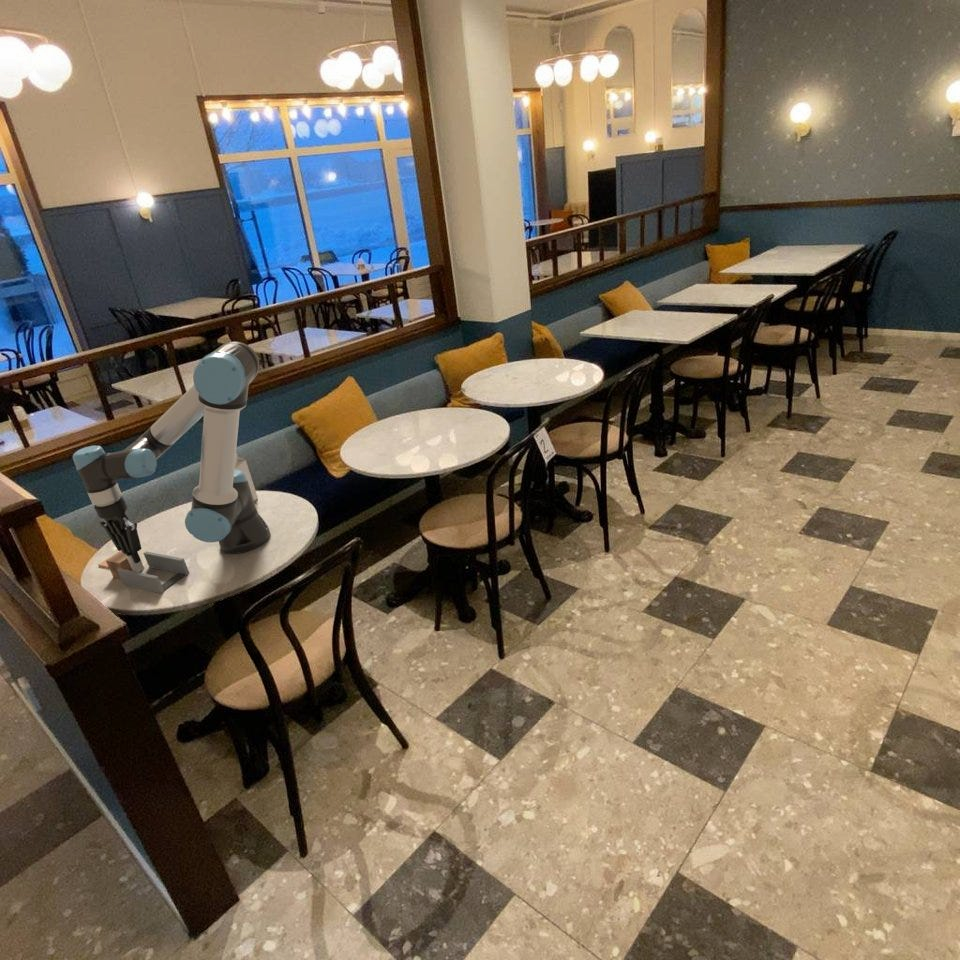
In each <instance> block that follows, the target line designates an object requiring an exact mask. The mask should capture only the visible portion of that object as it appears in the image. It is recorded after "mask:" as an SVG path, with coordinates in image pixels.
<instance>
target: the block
mask: <svg viewBox="0 0 960 960" xmlns="http://www.w3.org/2000/svg"><path fill="white" fill-rule="evenodd" d="M118 552H119V551H118ZM118 552H116V553H117V554H116V553H114V554H115V555H114V554H113V555H114V556H113V555H111V556H112V557H111V556H110V557H111V558H110V557H108V558H109V559H108V558H107V560H106V559H105V560H106V562H107V564H108V567H109V568H108V569H109V571H110V573H111V576H112V578H114V579H115V578H116V579H119V578H120V576H119V574H118V571H117V570H118V569H120V568H121V569H126V570H131V571H132V569H131V566H130V564H129V562H128V560H127V557H126V555H125V554H124V553H123V552H122V551H120V552H119V553H118ZM120 580H121V578H120Z"/></svg>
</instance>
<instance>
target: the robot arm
mask: <svg viewBox="0 0 960 960" xmlns="http://www.w3.org/2000/svg"><path fill="white" fill-rule="evenodd" d="M194 368H195V369H194V370H193V375H192V376H193V377H192V380H193V381H192V383H193V385H192V386H191V387H190V388H189V389H188V390H187V391H186V392H185V393H184V394H183V395H182V396H181V397H179V399H178V400H176V401H175V403H173V404H172V405H171V406H170V407H169V408H168V409H167V410H166V411H165V412H164V413H163V414H162V415H161V416H160V417H158V419H157V420H156V421H155V422H154V423H153V424H152V425H151V426H150V427H149V428H148V429H147V430H146V431H144V433H143V434H141V435H140V436H139V437H138V438H137V439H136V440H134V441H133V442H132V443H131V444H130V445H128V446H126V448H124V449H123V450H121V451H114V452H105V450H104V448H103V447H102V446H101V445H90V446H85V447H83V448H80V449H78V450H77V451H75V452H74V453H73V454H72V461H73V463H74V465H75V470H76V471H77V473H78V475H79V477H80V479H81V482H82V483H83V485H84V486H85V490H86V492H87V495H88V497H89V499H90V502H91V504H92V505H94V506H93V507H94V510H95V512H96V515H97V517H98V518H100V519H102V521H100V522H99V524H100V525H101V527H102V528H103V529H104V530H105V532H106V533H107V535H108V537H109V538H110V540H111V542H112V543H113V545H114V546H115V548H116V550H117V551H118V552H119V551H122V552H123V553H124V554H125V555H126V557H127V560H128V562H129V564H130V566H131V569H132V571H135V572H140V573H142V571H143V570H145V567H144V564H143V561H142V560H141V557H140V554H139V553H138V552H139V551H141V550H142V544H141V540H140V537H139V533H138V524H137V522H136V521H133V522H131V521H130V519H129V516H127V514H126V511H127V509H128V505H127V503H126V499H125V498H124V496H123V494H122V492H121V489H120V487H119V483H118V482H117V480H128V479H135V478H136V479H139V478H144V477H149V476H152V475H153V474H154V473H155V472H156V468H157V465H158V463H157V460H158V459H159V458H160V457H162V455H164V454H165V453H166V452H167V451H168V450H169V449H170V448H171V447H172V446H173V445H174V444H175V443H176V442H177V441H178V440H179V439H180V438H181V437H182V436H183V435H185V433H187V432H188V431H189V430H190V429H191V428H192V427H193V426H194V425H195V424H196V423H197V422H199V421H200V419H202V417H203V420H202V421H203V423H202V433H201V434H202V436H201V437H202V438H201V448H200V450H201V451H200V452H201V453H200V464H199V466H200V467H199V480H198V481H199V482H198V485H197V486H195V487H193V490H192V494H191V507H190V510H189V511H188V512H187V514H186V516H185V518H184V525H185V528H186V530H187V532H188V533H189V534H190V535H192V536H193V537H194V539H196V540H198V541H201V542H205V543H217V542H218V543H219V547H220V549H221V551H222V552H223V553H226V554H240V553H245V552H248V551H251V550H253V549H254V550H255V549H256V548H258V547H261V545H263V544H264V543H266V542H267V541H268V540H269V539H270V537H271V530H270V527H269V525H268V524H267V523H266V522H265V520H264V519H263V517H262V516H261V515H260V514H259V512H258V510H257V509H258V508H257V507H256V504H255V503H256V502H255V501H254V500H253V496H252V493H251V490H250V487H249V484H248V480H247V478H246V476H245V473H244V472H243V471H240V470H234V468H235V457H236V454H237V443H238V435H239V434H238V433H239V423H240V413H241V410H243V409H244V408H246V407H247V405H248V404H247V403H248V396H249V395H248V394H249V386H250V384H251V383H252V382H253V381H254V380H255V378H256V377H257V376H258V373H259V371H260V359H259V356H258V355H257V353H256V352H255V350H254V349H253V348H252V347H251V346H249V345H247V344H246V343H245V342H240V341H230V342H229V341H228V342H225V343H223V344H221V345H220V346H219V347H218V348H216V349H215V350H213V351H212V352H210V353H208V354H206V355H205V356H203V357H202V358H201V359H200V361H199V362H198V363H197V365H196V367H194Z"/></svg>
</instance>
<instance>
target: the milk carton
mask: <svg viewBox="0 0 960 960" xmlns="http://www.w3.org/2000/svg"><path fill="white" fill-rule="evenodd" d="M234 470H240V471H243V472H244V473H245V476H246V478H247V480H248V484H249V487H250V490H251V493H252V496H253V500H254V502H256V501H257V500H258V498H259V497H258V495H257V491H256V488H255V485H254V481H253V479H252V475H251V472H250V469H249V466H248V462H247V460H246V459H244V458H243V457H240V456H239V455H238V453H236V457H235V468H234Z"/></svg>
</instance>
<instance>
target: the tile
mask: <svg viewBox="0 0 960 960" xmlns="http://www.w3.org/2000/svg"><path fill="white" fill-rule="evenodd" d="M119 552H120V551H118V552H116V553H114V554H113V555H111V556H109V557H108V558H107V559H109V558H111V557H112V556H114V555H115V554H117V553H119ZM107 559H105V560H103V561H102V562H100V563H98V564H97V565H98V567H101V568H106V569H109V567H108V564H107V562H106V560H107Z"/></svg>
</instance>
